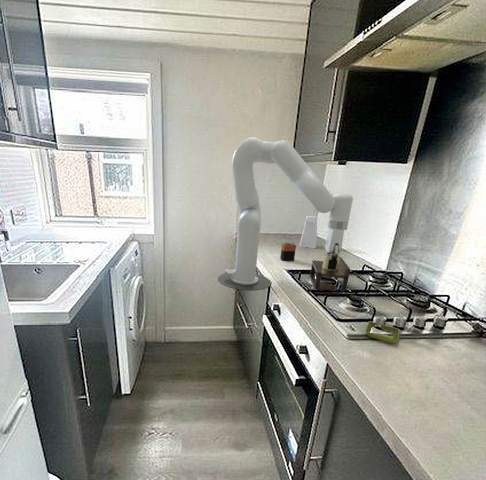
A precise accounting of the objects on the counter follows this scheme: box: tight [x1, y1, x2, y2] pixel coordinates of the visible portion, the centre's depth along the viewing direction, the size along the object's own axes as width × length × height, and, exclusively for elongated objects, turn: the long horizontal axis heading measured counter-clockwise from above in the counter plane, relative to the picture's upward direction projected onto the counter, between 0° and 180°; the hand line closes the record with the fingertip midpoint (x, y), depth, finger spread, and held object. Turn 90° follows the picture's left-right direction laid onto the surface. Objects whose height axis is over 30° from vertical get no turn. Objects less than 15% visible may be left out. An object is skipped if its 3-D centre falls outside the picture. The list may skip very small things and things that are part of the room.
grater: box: [299, 215, 319, 249], centre depth 204 cm, size 10×10×20 cm
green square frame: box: [365, 320, 401, 344], centre depth 91 cm, size 9×9×2 cm
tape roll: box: [322, 253, 341, 270], centre depth 129 cm, size 6×6×6 cm
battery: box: [279, 241, 297, 262], centre depth 168 cm, size 4×7×10 cm, turn 96°
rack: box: [309, 256, 351, 292], centre depth 132 cm, size 12×20×11 cm, turn 168°
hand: (330, 266), depth 130 cm, fingers closed on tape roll, 6 cm apart
